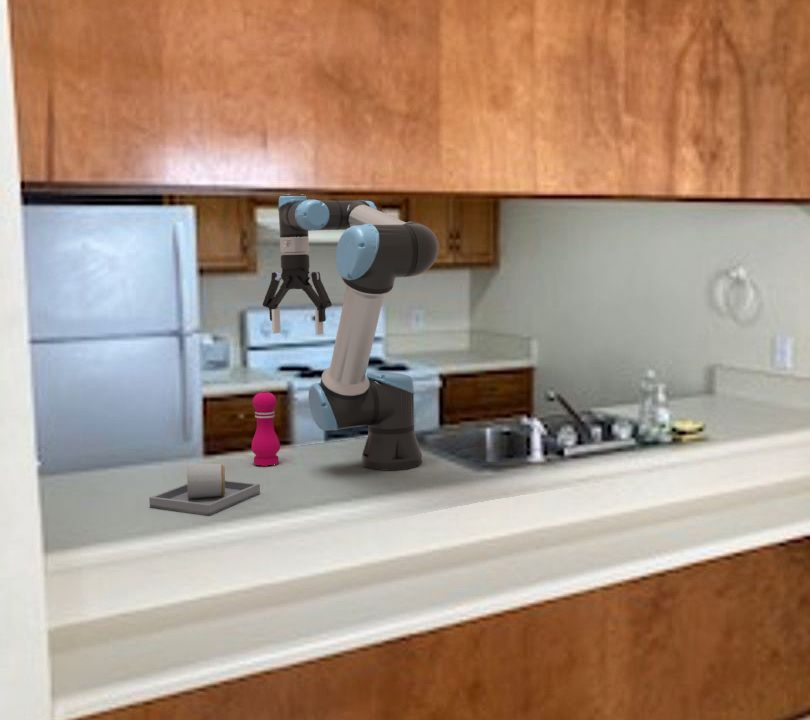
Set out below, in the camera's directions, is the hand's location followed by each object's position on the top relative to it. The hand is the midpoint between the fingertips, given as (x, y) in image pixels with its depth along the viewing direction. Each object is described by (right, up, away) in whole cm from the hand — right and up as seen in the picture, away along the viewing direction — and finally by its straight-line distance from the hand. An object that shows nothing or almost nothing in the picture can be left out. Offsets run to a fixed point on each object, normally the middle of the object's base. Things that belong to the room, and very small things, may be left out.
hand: (297, 333), depth 245 cm
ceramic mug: (-16, -37, -42) cm, 58 cm away
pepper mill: (-7, -34, -11) cm, 36 cm away
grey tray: (-15, -38, -43) cm, 60 cm away
